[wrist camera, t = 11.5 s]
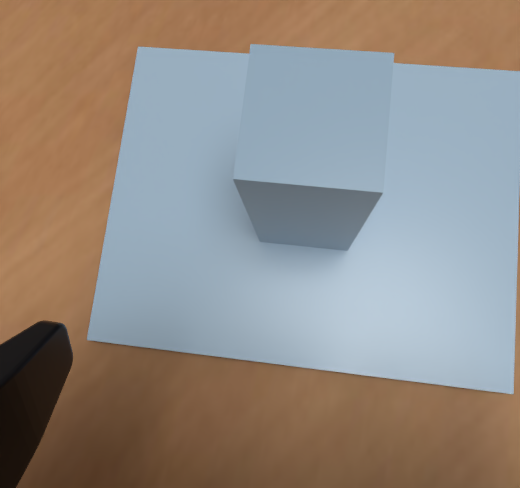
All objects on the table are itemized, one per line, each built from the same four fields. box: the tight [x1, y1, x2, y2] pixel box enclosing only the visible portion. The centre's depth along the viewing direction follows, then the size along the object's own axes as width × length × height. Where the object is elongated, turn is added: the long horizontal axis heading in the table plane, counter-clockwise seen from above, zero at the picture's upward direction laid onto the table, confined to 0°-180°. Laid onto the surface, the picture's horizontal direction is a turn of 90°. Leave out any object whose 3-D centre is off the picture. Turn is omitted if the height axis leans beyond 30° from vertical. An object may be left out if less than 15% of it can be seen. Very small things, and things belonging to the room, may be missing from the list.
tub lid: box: [87, 44, 520, 394], centre depth 14 cm, size 11×14×8 cm
